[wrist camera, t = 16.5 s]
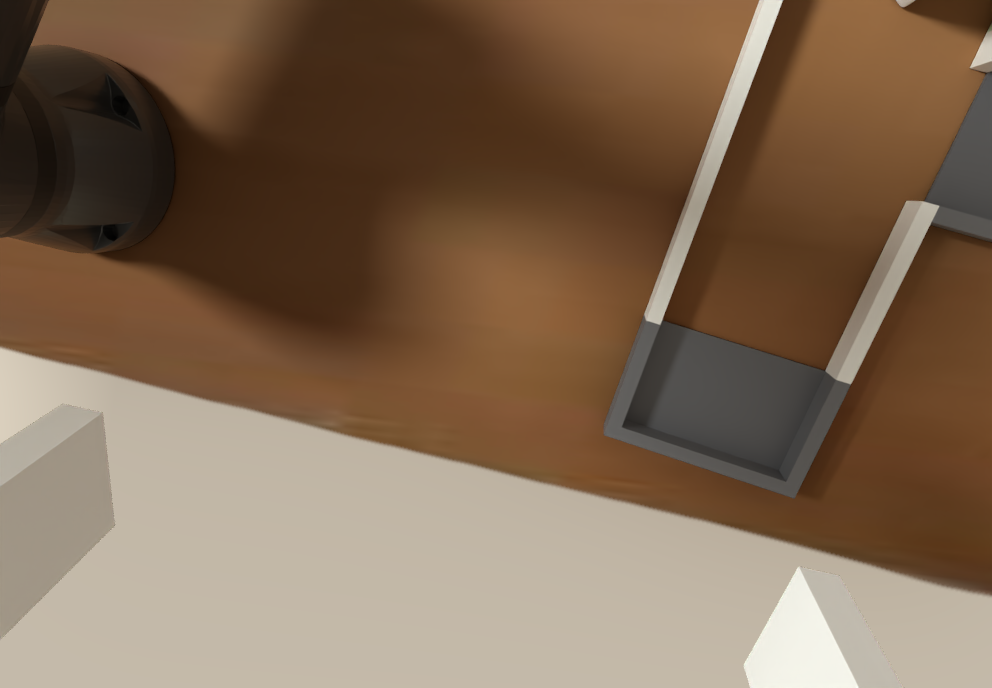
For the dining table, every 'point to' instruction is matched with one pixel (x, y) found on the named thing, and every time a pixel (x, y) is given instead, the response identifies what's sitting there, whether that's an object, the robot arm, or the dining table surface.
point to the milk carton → (904, 2)
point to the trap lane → (759, 375)
